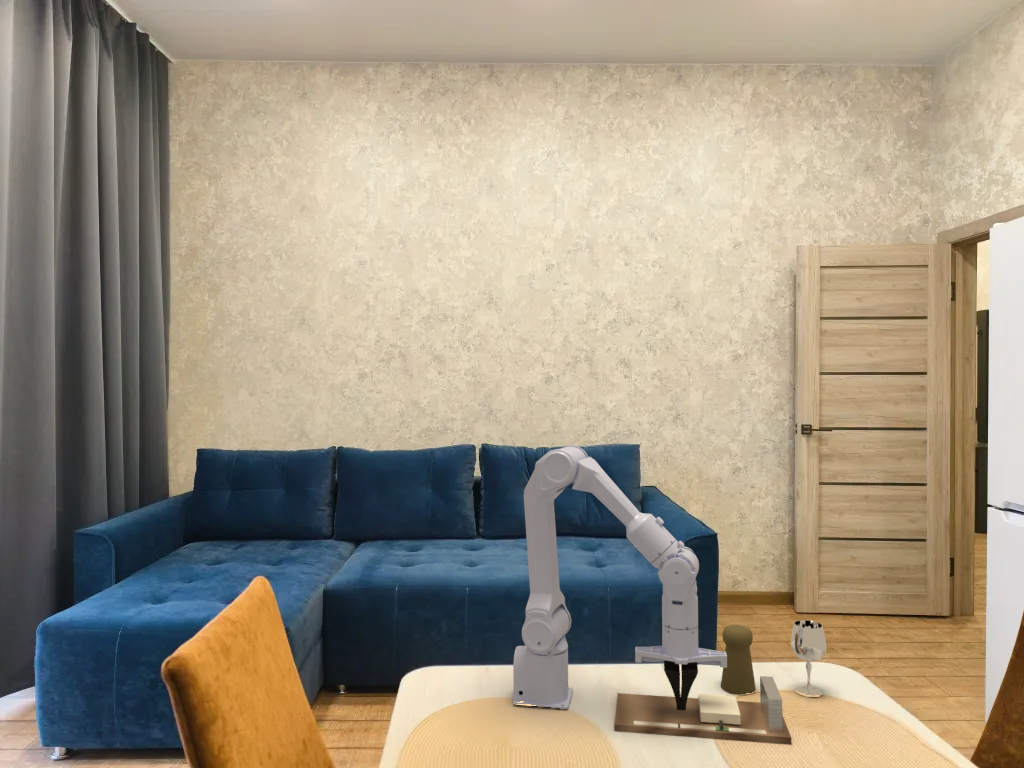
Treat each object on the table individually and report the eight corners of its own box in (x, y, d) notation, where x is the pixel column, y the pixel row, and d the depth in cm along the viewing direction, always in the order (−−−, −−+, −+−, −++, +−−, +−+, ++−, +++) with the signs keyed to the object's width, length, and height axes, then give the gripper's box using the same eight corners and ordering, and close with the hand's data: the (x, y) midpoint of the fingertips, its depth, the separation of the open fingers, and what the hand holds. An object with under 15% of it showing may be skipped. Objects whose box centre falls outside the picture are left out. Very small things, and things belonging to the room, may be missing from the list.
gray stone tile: (768, 731, 113) (768, 698, 113) (760, 706, 122) (760, 676, 122) (782, 732, 113) (782, 699, 113) (773, 707, 122) (772, 676, 122)
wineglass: (786, 693, 129) (785, 624, 129) (799, 683, 134) (798, 617, 134) (819, 702, 125) (818, 632, 125) (831, 691, 130) (830, 623, 130)
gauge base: (614, 730, 116) (614, 723, 116) (617, 698, 128) (617, 692, 128) (791, 744, 111) (791, 736, 111) (777, 709, 123) (777, 702, 123)
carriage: (701, 727, 114) (701, 717, 114) (698, 702, 123) (698, 693, 123) (742, 730, 113) (741, 720, 113) (735, 705, 122) (735, 696, 122)
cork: (758, 696, 128) (757, 633, 128) (722, 693, 129) (721, 631, 129) (753, 682, 134) (752, 622, 134) (719, 680, 135) (718, 620, 135)
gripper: (634, 630, 117) (635, 715, 117) (728, 634, 115) (729, 721, 115) (635, 616, 124) (636, 696, 124) (724, 620, 122) (725, 702, 122)
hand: (681, 707), depth 120 cm, fingers closed
